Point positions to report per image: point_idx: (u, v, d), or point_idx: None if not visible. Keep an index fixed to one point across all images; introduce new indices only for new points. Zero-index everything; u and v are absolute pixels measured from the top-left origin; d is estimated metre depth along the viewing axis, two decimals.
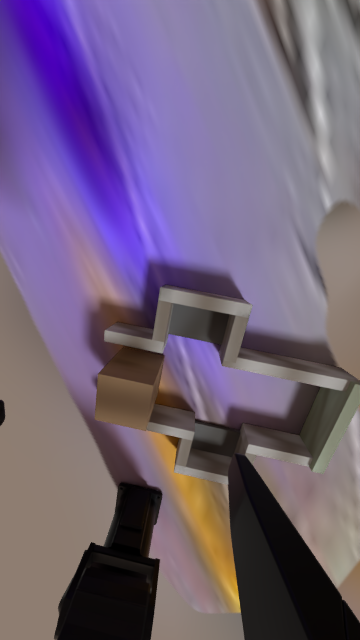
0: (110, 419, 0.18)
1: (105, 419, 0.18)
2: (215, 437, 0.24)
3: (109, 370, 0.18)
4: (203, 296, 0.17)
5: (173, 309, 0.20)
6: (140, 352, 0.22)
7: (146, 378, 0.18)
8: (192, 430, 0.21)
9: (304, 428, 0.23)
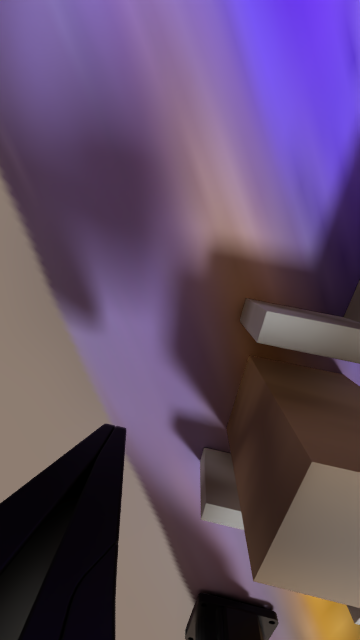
0: (307, 586, 0.06)
1: (289, 584, 0.06)
2: None
3: (318, 438, 0.05)
4: None
5: None
6: (294, 367, 0.10)
7: None
8: None
9: None
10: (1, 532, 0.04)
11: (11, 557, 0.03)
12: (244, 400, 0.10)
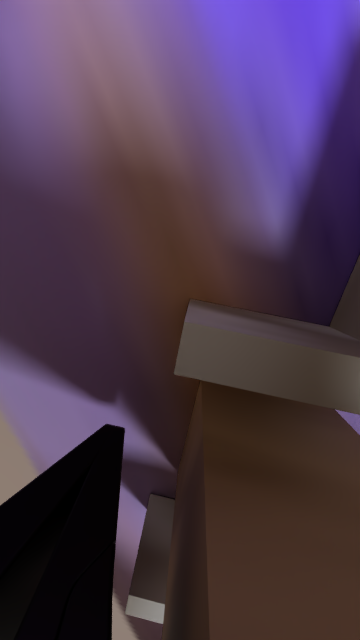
0: None
1: None
2: None
3: (258, 607, 0.02)
4: None
5: None
6: (261, 397, 0.07)
7: None
8: None
9: None
10: (3, 533, 0.04)
11: (13, 558, 0.03)
12: (189, 445, 0.07)
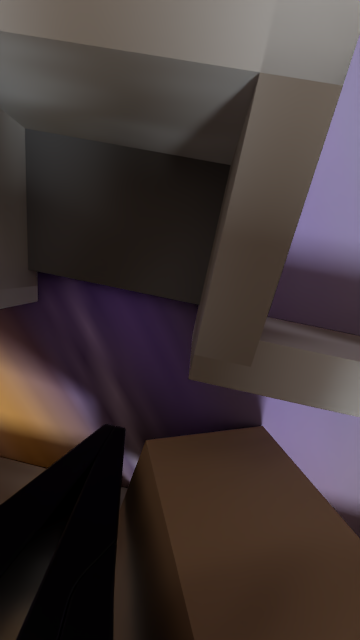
0: None
1: None
2: None
3: None
4: None
5: (29, 176, 0.06)
6: (214, 445, 0.06)
7: None
8: None
9: None
10: (2, 532, 0.04)
11: (12, 557, 0.03)
12: (135, 539, 0.05)
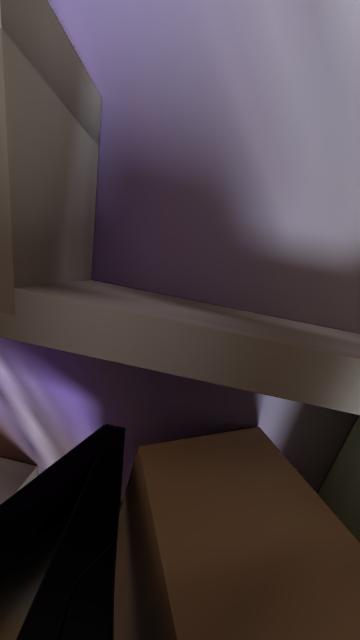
0: None
1: None
2: None
3: None
4: None
5: None
6: (208, 448, 0.06)
7: None
8: None
9: None
10: (2, 532, 0.04)
11: (12, 558, 0.03)
12: (131, 545, 0.05)
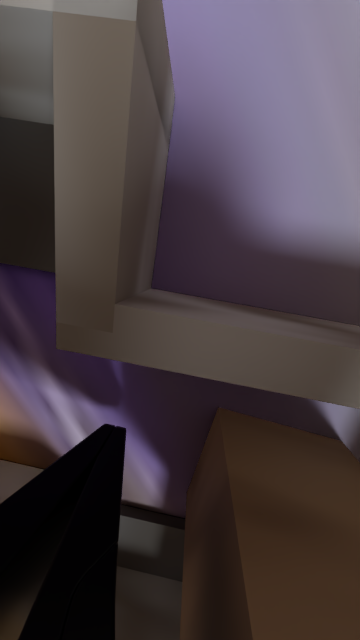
0: None
1: None
2: (137, 539, 0.10)
3: None
4: None
5: None
6: (276, 430, 0.07)
7: None
8: None
9: None
10: (1, 532, 0.04)
11: (11, 557, 0.03)
12: (205, 473, 0.07)
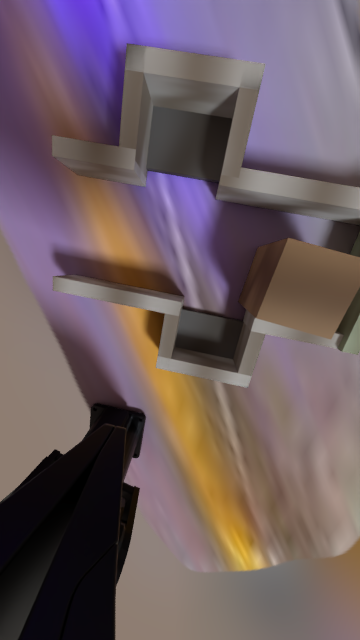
0: (281, 318, 0.12)
1: (272, 318, 0.12)
2: (211, 330, 0.19)
3: None
4: (191, 55, 0.12)
5: (152, 125, 0.15)
6: None
7: None
8: (179, 301, 0.16)
9: None
10: (1, 532, 0.04)
11: (11, 557, 0.03)
12: (253, 270, 0.16)
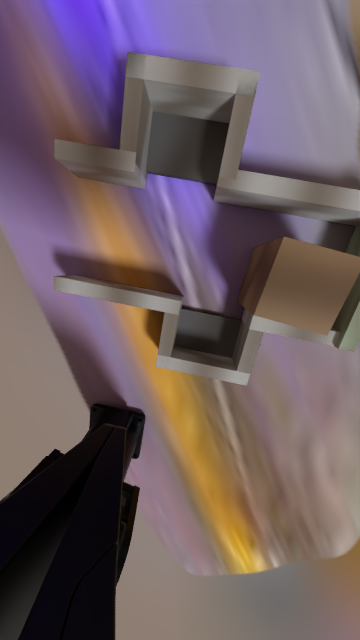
0: (278, 315, 0.13)
1: (270, 315, 0.13)
2: (210, 329, 0.19)
3: None
4: (189, 63, 0.12)
5: (151, 129, 0.15)
6: None
7: None
8: (178, 300, 0.16)
9: None
10: (1, 532, 0.04)
11: (11, 557, 0.03)
12: (250, 269, 0.17)
